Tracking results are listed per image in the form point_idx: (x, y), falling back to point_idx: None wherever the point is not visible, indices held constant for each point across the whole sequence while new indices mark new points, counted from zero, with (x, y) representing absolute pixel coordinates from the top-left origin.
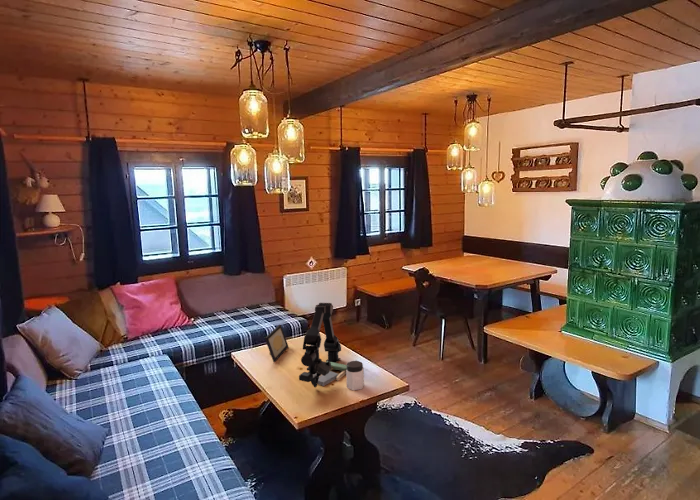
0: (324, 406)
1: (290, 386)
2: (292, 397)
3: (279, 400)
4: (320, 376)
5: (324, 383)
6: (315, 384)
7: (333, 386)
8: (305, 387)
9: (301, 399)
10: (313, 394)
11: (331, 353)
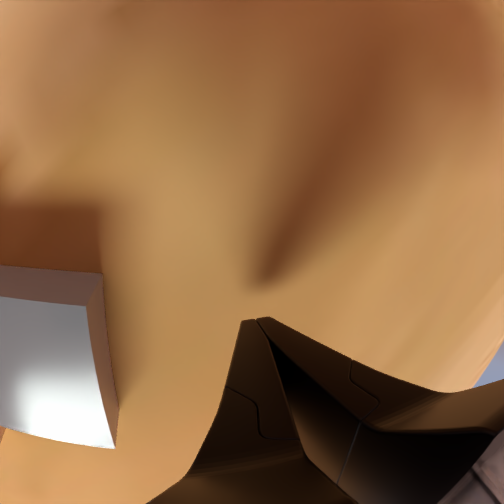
0: (483, 11)
1: None
2: (453, 352)
3: (478, 373)
4: (13, 426)
5: (62, 286)
6: (312, 339)
7: (25, 122)
8: None
9: (474, 271)
10: (383, 233)
11: None
